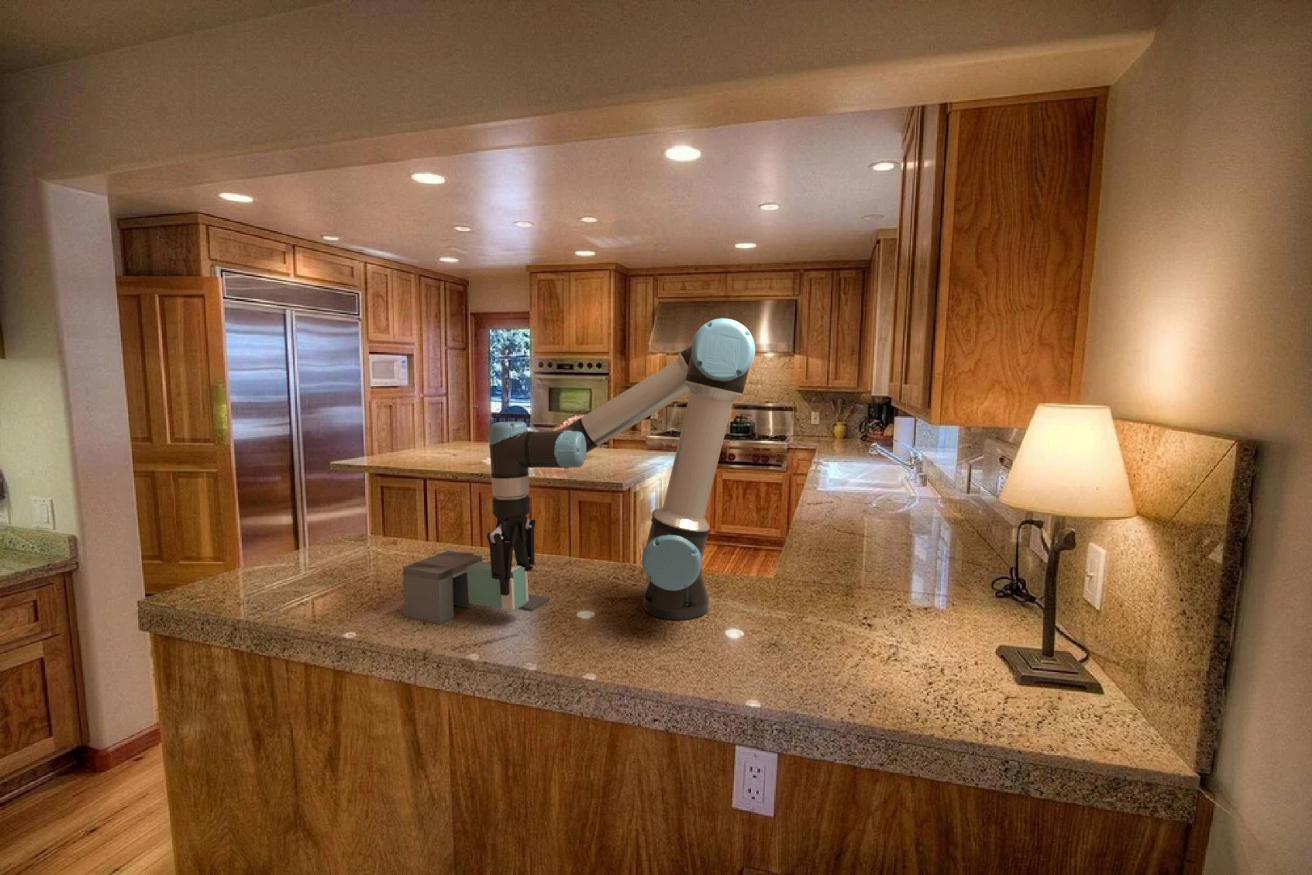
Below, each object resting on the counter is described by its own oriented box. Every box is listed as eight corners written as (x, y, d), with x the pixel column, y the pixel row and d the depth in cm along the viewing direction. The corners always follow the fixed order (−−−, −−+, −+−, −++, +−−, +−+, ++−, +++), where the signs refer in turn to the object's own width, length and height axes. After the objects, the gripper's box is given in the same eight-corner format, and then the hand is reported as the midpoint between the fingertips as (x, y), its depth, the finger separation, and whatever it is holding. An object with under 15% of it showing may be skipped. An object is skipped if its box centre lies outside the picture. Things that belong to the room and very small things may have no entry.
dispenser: (482, 601, 133) (481, 555, 132) (440, 624, 121) (438, 573, 119) (449, 595, 137) (448, 550, 136) (404, 616, 124) (403, 567, 123)
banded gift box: (526, 603, 122) (524, 566, 122) (514, 610, 119) (512, 572, 118) (481, 596, 127) (479, 561, 126) (468, 603, 123) (466, 566, 123)
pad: (549, 600, 134) (549, 598, 134) (531, 611, 128) (531, 608, 128) (504, 591, 139) (504, 589, 139) (485, 601, 133) (485, 599, 133)
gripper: (520, 487, 128) (525, 588, 130) (468, 503, 112) (473, 617, 115) (549, 489, 125) (553, 592, 127) (499, 505, 109) (504, 623, 112)
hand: (515, 604), depth 121 cm, fingers closed on banded gift box, 4 cm apart
